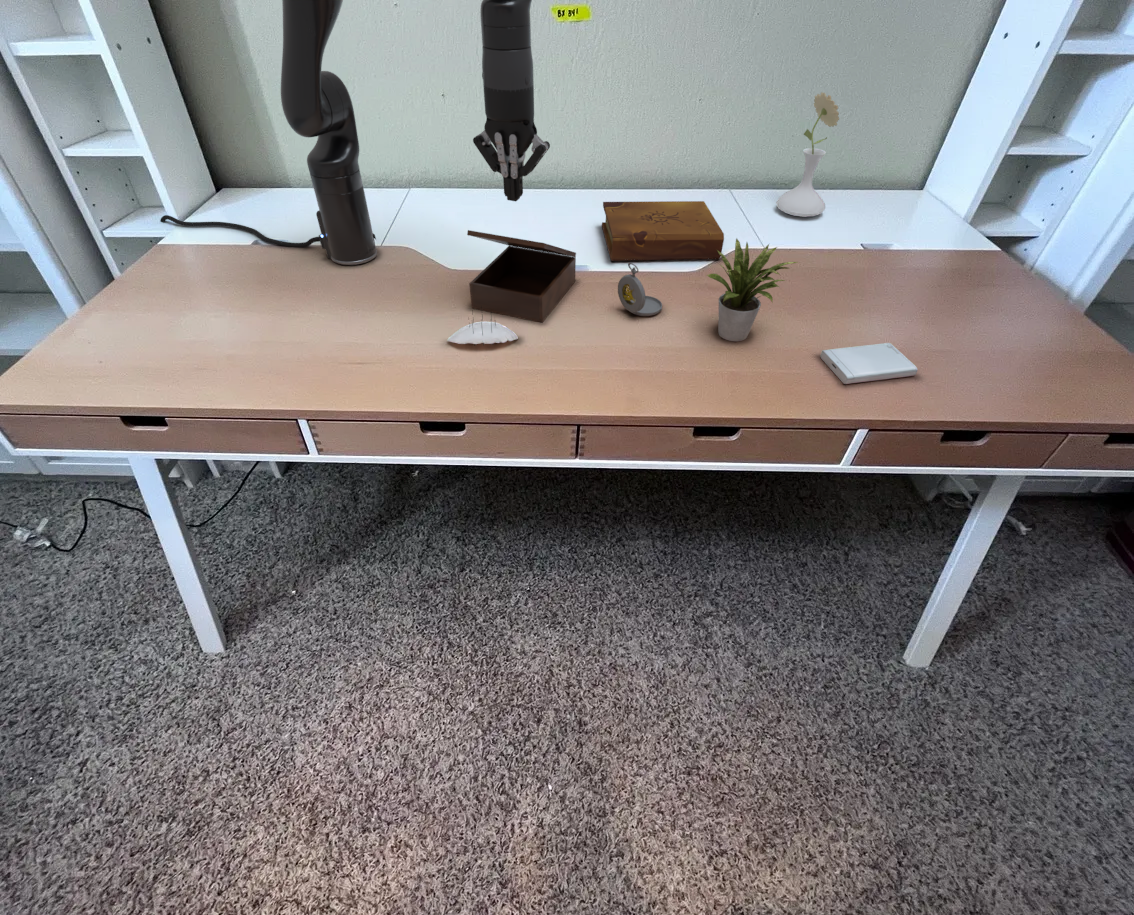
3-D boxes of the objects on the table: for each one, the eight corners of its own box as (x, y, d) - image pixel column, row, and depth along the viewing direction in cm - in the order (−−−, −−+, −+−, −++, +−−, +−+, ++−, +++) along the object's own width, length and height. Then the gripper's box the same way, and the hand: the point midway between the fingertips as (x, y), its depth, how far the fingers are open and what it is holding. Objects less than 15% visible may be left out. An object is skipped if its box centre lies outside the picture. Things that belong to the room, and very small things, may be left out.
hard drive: (889, 341, 106) (822, 348, 104) (918, 368, 100) (848, 376, 98) (885, 349, 107) (819, 357, 105) (914, 377, 101) (844, 385, 99)
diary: (611, 263, 130) (612, 236, 126) (601, 227, 144) (603, 201, 140) (720, 261, 131) (724, 234, 127) (700, 225, 145) (704, 200, 141)
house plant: (757, 369, 102) (782, 276, 91) (680, 344, 107) (694, 253, 96) (784, 330, 111) (810, 241, 100) (711, 309, 116) (728, 222, 105)
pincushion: (447, 352, 105) (442, 323, 101) (448, 333, 109) (444, 304, 105) (518, 349, 105) (517, 320, 102) (517, 330, 110) (515, 301, 106)
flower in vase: (829, 221, 147) (864, 103, 130) (780, 221, 147) (809, 102, 130) (813, 201, 157) (844, 88, 140) (768, 200, 157) (793, 87, 140)
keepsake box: (542, 322, 112) (542, 297, 109) (471, 308, 116) (469, 283, 112) (575, 281, 124) (575, 257, 121) (510, 269, 128) (508, 245, 124)
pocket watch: (665, 303, 118) (671, 252, 111) (655, 325, 112) (661, 273, 105) (623, 296, 120) (627, 246, 113) (611, 317, 114) (614, 265, 107)
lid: (543, 248, 104) (544, 243, 103) (467, 235, 107) (467, 230, 107) (575, 257, 120) (576, 252, 120) (508, 245, 124) (509, 241, 124)
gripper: (558, 80, 94) (558, 197, 106) (480, 72, 97) (488, 186, 109) (539, 91, 89) (541, 213, 101) (457, 82, 92) (468, 201, 104)
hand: (513, 199), depth 105 cm, fingers closed
